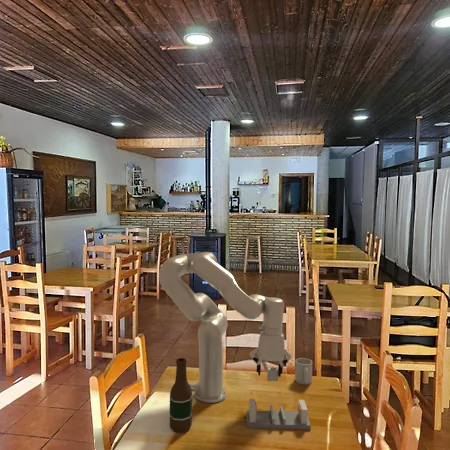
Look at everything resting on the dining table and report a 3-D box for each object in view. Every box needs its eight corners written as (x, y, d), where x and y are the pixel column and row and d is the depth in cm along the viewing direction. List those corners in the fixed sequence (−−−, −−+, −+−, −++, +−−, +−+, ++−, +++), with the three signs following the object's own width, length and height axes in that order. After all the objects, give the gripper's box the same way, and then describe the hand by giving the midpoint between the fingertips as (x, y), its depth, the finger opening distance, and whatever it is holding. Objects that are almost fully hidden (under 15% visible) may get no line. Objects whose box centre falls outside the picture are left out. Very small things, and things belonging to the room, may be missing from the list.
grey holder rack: (247, 427, 141) (247, 409, 140) (246, 414, 150) (246, 397, 149) (310, 429, 140) (311, 411, 140) (305, 415, 149) (306, 398, 149)
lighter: (277, 379, 159) (278, 359, 158) (278, 381, 157) (279, 361, 156) (259, 378, 158) (260, 358, 158) (260, 380, 157) (261, 360, 156)
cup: (309, 377, 182) (310, 358, 181) (314, 388, 172) (315, 367, 171) (293, 377, 182) (294, 357, 181) (297, 387, 172) (298, 367, 171)
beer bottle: (182, 436, 135) (183, 365, 134) (164, 428, 139) (165, 360, 138) (196, 425, 142) (197, 358, 140) (179, 418, 146) (179, 353, 144)
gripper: (250, 331, 153) (247, 377, 154) (296, 335, 152) (292, 380, 154) (249, 325, 160) (246, 369, 161) (293, 328, 160) (290, 372, 161)
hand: (269, 374), depth 157 cm, fingers closed on lighter, 7 cm apart
